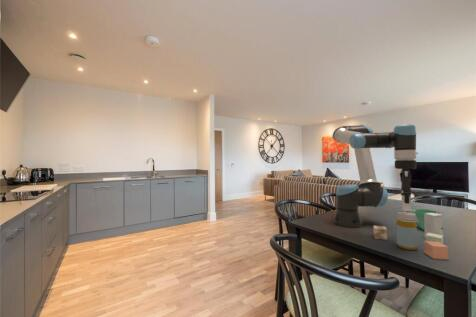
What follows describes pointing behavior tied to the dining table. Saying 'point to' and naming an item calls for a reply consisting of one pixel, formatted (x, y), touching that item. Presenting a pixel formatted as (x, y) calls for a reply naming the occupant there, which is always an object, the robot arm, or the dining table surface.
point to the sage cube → (434, 237)
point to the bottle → (406, 231)
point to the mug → (421, 216)
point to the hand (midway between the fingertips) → (406, 207)
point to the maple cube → (380, 232)
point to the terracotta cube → (436, 250)
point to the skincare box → (433, 223)
